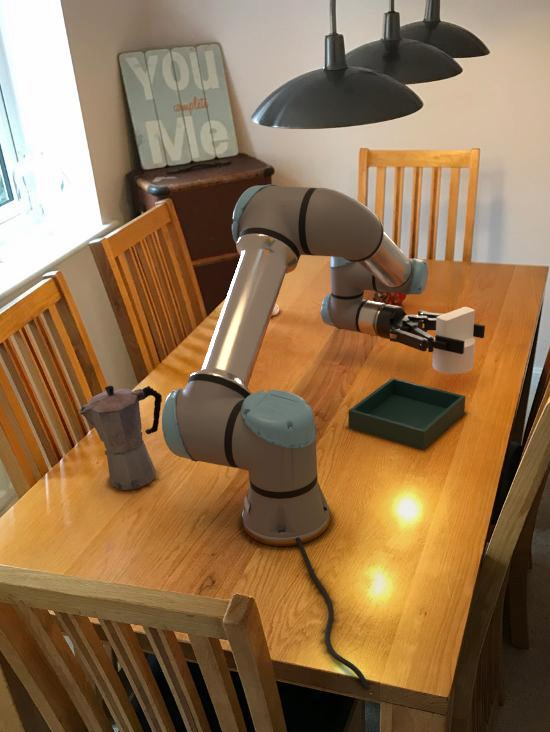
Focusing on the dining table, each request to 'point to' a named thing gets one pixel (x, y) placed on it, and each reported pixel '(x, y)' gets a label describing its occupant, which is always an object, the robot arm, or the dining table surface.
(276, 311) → the white rounded lump
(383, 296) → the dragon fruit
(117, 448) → the moka pot
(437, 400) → the bin
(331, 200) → the robot arm
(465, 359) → the cylinder with rectangular tab
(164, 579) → the dining table surface
